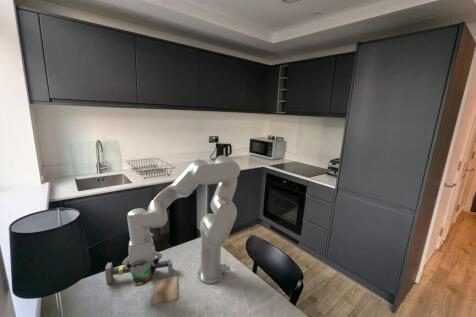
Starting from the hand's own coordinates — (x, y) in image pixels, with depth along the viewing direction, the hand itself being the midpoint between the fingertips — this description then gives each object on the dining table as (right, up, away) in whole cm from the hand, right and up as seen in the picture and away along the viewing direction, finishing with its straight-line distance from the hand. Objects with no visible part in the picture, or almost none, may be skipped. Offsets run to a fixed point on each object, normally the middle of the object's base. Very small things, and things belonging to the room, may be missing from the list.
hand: (144, 273), depth 100 cm
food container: (+1, -3, +1) cm, 3 cm away
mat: (+8, -9, +3) cm, 12 cm away
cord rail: (-6, -6, +11) cm, 14 cm away
